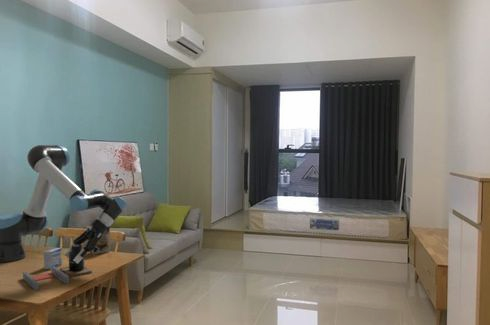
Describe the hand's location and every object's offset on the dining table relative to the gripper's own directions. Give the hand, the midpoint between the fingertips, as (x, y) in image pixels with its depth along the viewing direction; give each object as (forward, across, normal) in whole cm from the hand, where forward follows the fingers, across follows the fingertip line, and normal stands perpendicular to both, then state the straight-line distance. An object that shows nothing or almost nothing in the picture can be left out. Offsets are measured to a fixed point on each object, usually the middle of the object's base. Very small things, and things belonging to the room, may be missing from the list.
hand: (70, 259), depth 187 cm
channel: (+13, -4, +4) cm, 15 cm away
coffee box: (-13, +28, -23) cm, 39 cm away
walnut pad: (+3, +1, -7) cm, 7 cm away
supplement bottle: (+2, 0, -6) cm, 7 cm away
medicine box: (+7, +16, -3) cm, 18 cm away
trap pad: (+13, +2, +4) cm, 14 cm away
